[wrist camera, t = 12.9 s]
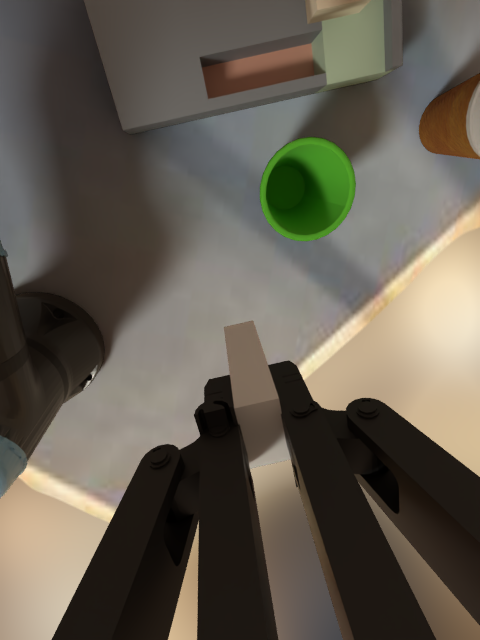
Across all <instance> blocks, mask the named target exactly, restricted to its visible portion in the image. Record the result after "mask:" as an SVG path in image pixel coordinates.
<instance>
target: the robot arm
mask: <svg viewBox="0 0 480 640" xmlns="http://www.w3.org/2000/svg"><path fill="white" fill-rule="evenodd" d="M7 256H8V254H7V252H6V250H4V249H3V247H2V244H1V240H0V498H1V497H2V496H3V495H4V494H5V493H6V492H7V490H8V489H9V487H10V486H11V485H12V484H13V482H14V481H15V480H16V478H17V477H18V476H19V475H20V474H22V473H23V471H24V470H25V468H26V465H27V464H28V463H27V461H28V460H29V458H30V456H31V455H32V453H33V451H34V450H35V448H36V447H37V445H38V443H39V442H40V440H41V438H42V437H43V435H44V434H45V432H46V430H47V429H48V427H49V425H50V424H51V422H52V421H53V419H54V417H55V416H56V414H57V412H58V411H59V409H60V407H61V406H62V404H63V403H65V402H66V401H68V400H69V399H71V398H72V397H74V396H76V395H77V394H79V393H80V392H82V391H83V390H84V389H85V388H87V387H88V386H89V385H90V383H91V382H92V381H93V380H94V378H95V377H96V375H97V373H98V371H99V369H100V367H101V365H102V362H103V359H104V342H103V338H102V335H101V332H100V330H99V328H98V326H97V325H96V323H95V322H94V321H93V319H92V318H91V317H90V316H89V315H88V314H87V313H86V312H85V311H84V310H83V309H82V308H80V307H79V306H77V305H76V304H74V303H73V302H71V301H69V300H67V299H65V298H62V297H59V296H56V295H53V294H48V293H40V292H30V293H23V294H19V295H15V291H14V287H13V283H12V279H11V275H10V271H9V267H8V263H7V259H6V257H7ZM224 332H225V339H226V347H227V355H228V363H229V371H230V375H227V376H222V377H218V378H214V379H209V381H208V382H207V384H206V386H205V387H204V396H205V397H204V403H203V404H201V405H200V406H199V407H198V408H197V409H196V411H195V414H194V417H195V420H196V423H197V426H198V429H199V432H200V437H199V438H198V439H197V440H196V441H195V442H193V443H192V444H190V445H188V446H186V447H184V448H182V449H180V450H179V449H178V448H177V447H176V446H174V445H170V444H165V445H160V446H157V447H155V448H153V449H151V450H150V451H149V452H148V453H146V454H145V456H144V457H143V458H142V460H141V462H140V464H139V466H138V468H137V470H136V472H135V474H134V476H133V478H132V480H131V482H130V484H129V486H128V488H127V490H126V492H125V494H124V496H123V498H122V500H121V502H120V504H119V506H118V508H117V510H116V512H115V514H114V516H113V518H112V520H111V522H110V524H109V526H108V528H107V530H106V532H105V534H104V536H103V538H102V540H101V542H100V544H99V546H98V548H97V550H96V552H95V554H94V556H93V558H92V560H91V562H90V564H89V566H88V568H87V570H86V572H85V574H84V576H83V578H82V580H81V582H80V584H79V586H78V588H77V590H76V592H75V594H74V596H73V598H72V600H71V602H70V604H69V606H68V608H67V610H66V612H65V614H64V616H63V618H62V620H61V622H60V624H59V626H58V628H57V630H56V632H55V634H54V636H53V638H52V640H168V637H169V633H170V629H171V625H172V621H173V617H174V613H175V610H176V606H177V602H178V598H179V594H180V590H181V587H182V582H183V579H184V575H185V571H186V567H187V563H188V559H189V556H190V552H191V548H192V544H193V540H194V536H195V532H196V529H197V524H198V521H199V556H198V557H199V558H198V559H199V560H198V626H197V628H198V629H197V640H278V635H277V628H276V622H275V616H274V610H273V603H272V597H271V591H270V585H269V579H268V573H267V566H266V560H265V554H264V548H263V541H262V535H261V529H260V523H259V516H258V511H257V504H256V498H255V491H254V485H253V480H252V476H251V472H250V469H252V468H256V467H260V466H265V465H269V464H273V463H278V462H282V461H287V460H291V461H292V467H293V472H294V477H295V482H296V487H298V489H299V492H300V495H301V499H302V502H303V506H304V509H305V512H306V516H307V519H308V522H309V526H310V529H311V532H312V536H313V539H314V543H315V546H316V549H317V553H318V556H319V559H320V563H321V566H322V570H323V573H324V576H325V580H326V583H327V587H328V590H329V594H330V597H331V600H332V604H333V607H334V610H335V613H336V617H337V621H338V624H339V627H340V630H341V634H342V638H343V640H436V638H435V636H434V634H433V632H432V630H431V628H430V626H429V624H428V622H427V620H426V618H425V616H424V614H423V612H422V610H421V608H420V606H419V604H418V602H417V600H416V598H415V596H414V594H413V592H412V590H411V588H410V586H409V584H408V582H407V580H406V578H405V576H404V574H403V572H402V570H401V568H400V566H399V564H398V562H397V560H396V557H395V555H394V554H393V551H392V550H391V547H390V545H389V543H388V541H387V539H386V537H385V535H384V533H383V531H382V530H381V527H380V525H379V523H378V521H377V519H376V517H375V515H374V514H373V511H372V509H371V507H370V505H369V503H368V501H367V499H366V497H365V495H364V493H363V491H362V489H361V487H360V485H359V483H360V484H361V485H362V487H363V488H364V489H365V490H366V491H367V493H368V494H369V495H370V496H371V497H372V498H373V500H374V501H375V502H376V503H377V504H378V506H379V507H380V508H381V509H382V510H383V512H384V513H385V514H386V515H387V516H388V517H389V519H390V520H391V521H392V522H393V523H394V525H395V526H396V527H397V528H398V529H399V530H400V532H401V533H402V534H403V535H404V536H405V538H406V539H407V540H408V541H409V542H410V543H411V545H412V546H413V547H414V548H415V549H416V550H417V552H418V553H419V554H420V555H421V557H422V558H423V559H424V560H425V561H426V562H427V564H428V565H429V566H430V567H431V568H432V569H433V571H434V572H435V573H436V574H437V575H438V577H440V579H441V580H442V581H443V582H444V584H445V585H446V586H447V587H448V588H449V590H450V591H451V592H452V593H453V594H454V596H455V597H456V598H457V599H458V600H459V601H460V603H461V604H462V605H463V606H464V607H465V609H466V610H467V611H468V612H469V613H470V614H471V616H472V617H473V618H474V619H475V620H476V622H477V623H478V624H479V625H480V477H479V476H478V475H476V474H475V473H474V472H472V471H471V470H470V469H469V468H467V467H466V466H465V465H463V464H462V463H461V462H460V461H458V460H457V459H456V458H454V457H453V456H452V455H451V454H449V453H448V452H447V451H445V450H444V449H443V448H441V447H440V446H439V445H438V444H436V443H435V442H434V441H432V440H431V439H430V438H429V437H427V436H426V435H425V434H423V433H422V432H421V431H419V430H418V429H417V428H416V427H414V426H413V425H412V424H411V423H409V422H408V421H407V420H405V419H404V418H403V417H401V416H400V415H399V414H398V413H396V412H395V411H394V410H392V409H391V408H390V407H389V406H387V405H386V404H385V403H383V402H381V401H379V400H376V399H371V398H360V399H357V400H354V401H352V402H351V403H349V405H348V406H347V408H346V411H335V410H327V409H324V408H321V406H320V405H319V404H318V403H317V402H315V401H313V399H312V397H311V395H310V393H309V391H308V388H307V386H306V384H305V382H304V380H303V378H302V376H301V374H300V372H299V370H298V368H297V366H296V365H295V364H293V363H292V362H290V361H284V362H280V363H276V364H271V365H268V364H267V361H266V358H265V355H264V352H263V349H262V346H261V343H260V340H259V337H258V334H257V331H256V328H255V325H254V322H253V321H249V322H244V323H240V324H235V325H231V326H227V327H224ZM358 482H359V483H358Z"/></svg>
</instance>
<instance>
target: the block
mask: <svg viewBox="0 0 480 640" xmlns="http://www.w3.org/2000/svg"><path fill="white" fill-rule="evenodd" d="M370 1H371V0H305V4H306V14H307V24H311V23H316V22H320V21H325V20H329V19H334V18H338V17H343V16H347V15H352V14H356V13H359V12H360V11H361V10H362V9H363V8H364V7H365V6H366V5H367V4H368V3H369V2H370Z"/></svg>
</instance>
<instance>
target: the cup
mask: <svg viewBox="0 0 480 640" xmlns="http://www.w3.org/2000/svg"><path fill="white" fill-rule="evenodd" d="M355 186H356V182H355V174H354V170H353V167H352V165H351V162H350V160H349V158H348V157H347V156H346V154H345V153H344V151H343V150H342V149H341V148H339V147H338V146H337V145H336V144H334V143H333V142H330V141H328V140H326V139H323V138H317V137H306V138H299V139H297V140H294V141H292V142H290V143H288V144H286V145H285V146H284V147H282V148H281V149H280V150H278V151H277V152H276V153H275V155H274V156H273V157H272V158H271V160H270V161H269V162H268V164H267V166H266V169H265V171H264V173H263V176H262V180H261V185H260V202H261V206H262V210H263V213H264V215H265V217H266V219H267V221H268V223H269V224H270V225H271V226H272V227H273V228H274V229H275V231H277V232H278V233H280V234H281V235H283V236H284V237H287V238H290V239H292V240H296V241H310V240H316V239H319V238H321V237H323V236H326V235H328V234H329V233H330V232H332V231H333V230H335V229H336V228H337V227H338V226H339V225H340V224H341V223H342V221H343V220H344V219H345V218H346V216H347V214H348V212H349V211H350V209H351V206H352V203H353V200H354V196H355Z"/></svg>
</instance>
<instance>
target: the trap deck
mask: <svg viewBox="0 0 480 640" xmlns="http://www.w3.org/2000/svg"><path fill="white" fill-rule="evenodd" d="M84 3H85V7H86V10H87V13H88V16H89V20H90V23H91V26H92V30H93V33H94V36H95V40H96V43H97V46H98V50H99V53H100V56H101V60H102V63H103V66H104V70H105V73H106V76H107V79H108V83H109V86H110V89H111V93H112V96H113V99H114V103H115V106H116V109H117V113H118V116H119V119H120V123H121V126H122V129H123V131H125V132H127V133H129V134H135V133H140V132H144V131H149V130H153V129H158V128H162V127H167V126H171V125H176V124H180V123H185V122H189V121H194V120H198V119H203V118H207V117H212V116H216V115H221V114H225V113H230V112H234V111H239V110H243V109H248V108H252V107H257V106H261V105H266V104H270V103H274V102H279V101H283V100H288V99H292V98H297V97H301V96H306V95H310V94H315V93H319V92H324V91H328V90H333V89H337V88H342V87H346V86H351V85H355V84H360V83H364V82H369V81H373V80H377V79H379V78H381V77H382V76H384V75H386V74H388V73H390V72H391V71H393V70H395V69H397V68H399V67H400V66H402V65H403V46H402V0H371V1H370V2H369V3H368V4H367V5H366V6H365V7H364V8H363V9H362V10H361V11H360V12H359V13H356V14H352V15H347V16H343V17H338V18H334V19H329V20H325V21H320V22H316V23H311V24H307V14H306V4H305V0H84Z"/></svg>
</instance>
